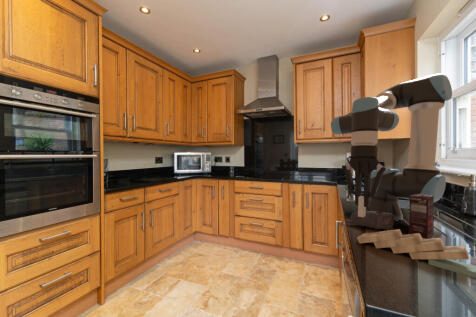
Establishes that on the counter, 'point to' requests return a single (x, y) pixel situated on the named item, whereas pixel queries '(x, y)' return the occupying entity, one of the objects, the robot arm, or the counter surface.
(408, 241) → the birch domino
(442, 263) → the grey-green domino
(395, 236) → the birch domino
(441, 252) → the birch domino
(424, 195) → the supplement box
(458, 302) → the counter surface
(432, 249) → the birch domino
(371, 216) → the perforated stone tool
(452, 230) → the counter surface
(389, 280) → the counter surface
